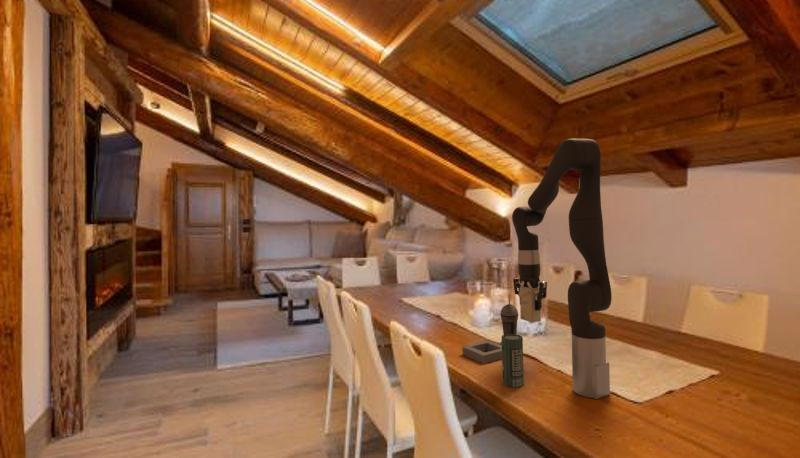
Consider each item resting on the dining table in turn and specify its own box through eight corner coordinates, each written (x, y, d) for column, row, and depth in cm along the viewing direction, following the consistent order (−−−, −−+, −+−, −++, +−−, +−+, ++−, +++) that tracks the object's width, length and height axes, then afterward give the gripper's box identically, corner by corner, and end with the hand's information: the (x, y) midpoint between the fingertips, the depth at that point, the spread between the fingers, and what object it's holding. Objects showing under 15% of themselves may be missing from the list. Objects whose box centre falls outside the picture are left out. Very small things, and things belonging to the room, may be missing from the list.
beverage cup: (517, 339, 177) (516, 291, 176) (520, 345, 169) (519, 295, 168) (499, 339, 177) (498, 292, 176) (502, 345, 170) (500, 296, 169)
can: (515, 378, 137) (514, 332, 137) (527, 385, 132) (526, 337, 131) (499, 381, 135) (498, 335, 135) (511, 389, 130) (509, 340, 129)
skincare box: (520, 319, 154) (518, 286, 154) (529, 317, 156) (528, 284, 155) (532, 322, 148) (531, 288, 148) (542, 321, 150) (540, 287, 150)
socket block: (510, 356, 157) (510, 348, 157) (483, 363, 151) (483, 355, 151) (488, 347, 168) (488, 340, 168) (462, 354, 161) (462, 346, 161)
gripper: (552, 262, 147) (553, 310, 148) (521, 259, 159) (523, 303, 160) (537, 265, 143) (538, 313, 144) (506, 261, 156) (508, 306, 156)
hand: (530, 308), depth 152 cm, fingers closed on skincare box, 6 cm apart
